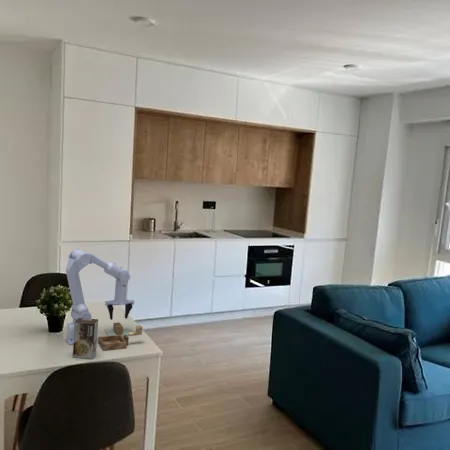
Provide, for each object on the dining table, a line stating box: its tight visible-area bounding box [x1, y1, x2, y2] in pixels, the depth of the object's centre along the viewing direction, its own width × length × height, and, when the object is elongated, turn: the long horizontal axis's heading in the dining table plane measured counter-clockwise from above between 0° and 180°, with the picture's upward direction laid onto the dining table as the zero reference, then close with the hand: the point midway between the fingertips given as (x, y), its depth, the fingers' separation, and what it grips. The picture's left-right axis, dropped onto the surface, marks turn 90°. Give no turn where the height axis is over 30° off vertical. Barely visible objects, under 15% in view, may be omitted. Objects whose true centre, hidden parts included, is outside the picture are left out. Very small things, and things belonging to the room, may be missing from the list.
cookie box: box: [72, 318, 99, 360], centre depth 198 cm, size 9×6×16 cm
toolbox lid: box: [104, 321, 130, 337], centre depth 229 cm, size 11×10×5 cm
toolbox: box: [97, 335, 130, 351], centre depth 213 cm, size 13×10×4 cm
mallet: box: [128, 324, 143, 337], centre depth 218 cm, size 6×3×4 cm, turn 119°
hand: (118, 318), depth 229 cm, fingers open, 7 cm apart
